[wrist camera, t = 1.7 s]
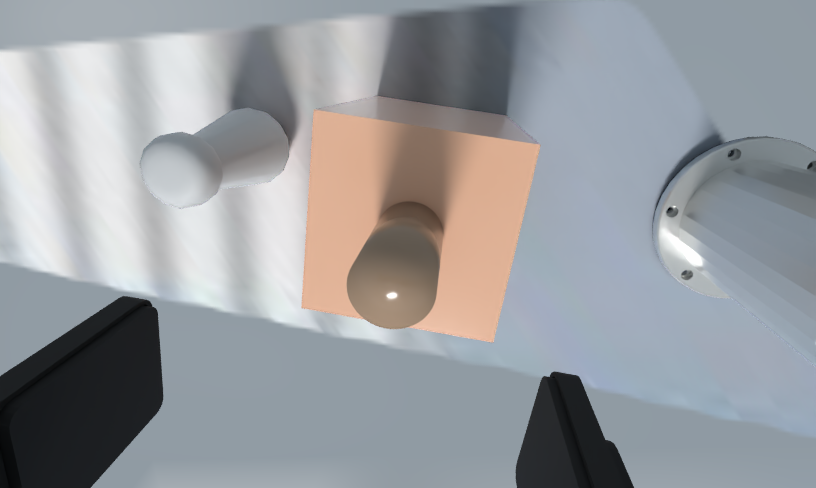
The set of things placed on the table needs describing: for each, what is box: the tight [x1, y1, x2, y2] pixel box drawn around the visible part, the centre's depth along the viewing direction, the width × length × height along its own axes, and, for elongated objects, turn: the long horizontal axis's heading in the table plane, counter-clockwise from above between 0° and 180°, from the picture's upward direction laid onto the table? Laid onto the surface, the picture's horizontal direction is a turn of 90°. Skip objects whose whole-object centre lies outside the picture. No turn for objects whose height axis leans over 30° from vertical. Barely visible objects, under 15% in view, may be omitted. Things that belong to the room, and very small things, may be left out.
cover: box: [302, 96, 540, 342], centre depth 26 cm, size 10×10×22 cm
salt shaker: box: [140, 108, 289, 209], centre depth 31 cm, size 6×6×13 cm
